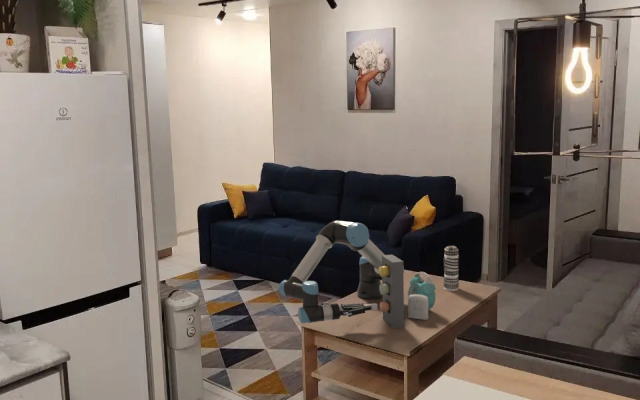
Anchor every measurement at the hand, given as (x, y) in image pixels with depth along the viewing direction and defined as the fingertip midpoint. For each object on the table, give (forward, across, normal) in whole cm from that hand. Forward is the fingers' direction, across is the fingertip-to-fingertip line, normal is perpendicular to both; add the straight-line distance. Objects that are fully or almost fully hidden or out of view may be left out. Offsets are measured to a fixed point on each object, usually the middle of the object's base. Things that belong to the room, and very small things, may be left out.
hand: (376, 306), depth 293 cm
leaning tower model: (+61, +40, +10) cm, 74 cm away
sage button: (+5, +1, -5) cm, 7 cm away
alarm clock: (+30, +14, +10) cm, 35 cm away
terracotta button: (+5, +1, +4) cm, 6 cm away
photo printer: (+23, +3, +10) cm, 25 cm away
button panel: (+10, +1, +10) cm, 14 cm away
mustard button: (+5, +1, -14) cm, 15 cm away
